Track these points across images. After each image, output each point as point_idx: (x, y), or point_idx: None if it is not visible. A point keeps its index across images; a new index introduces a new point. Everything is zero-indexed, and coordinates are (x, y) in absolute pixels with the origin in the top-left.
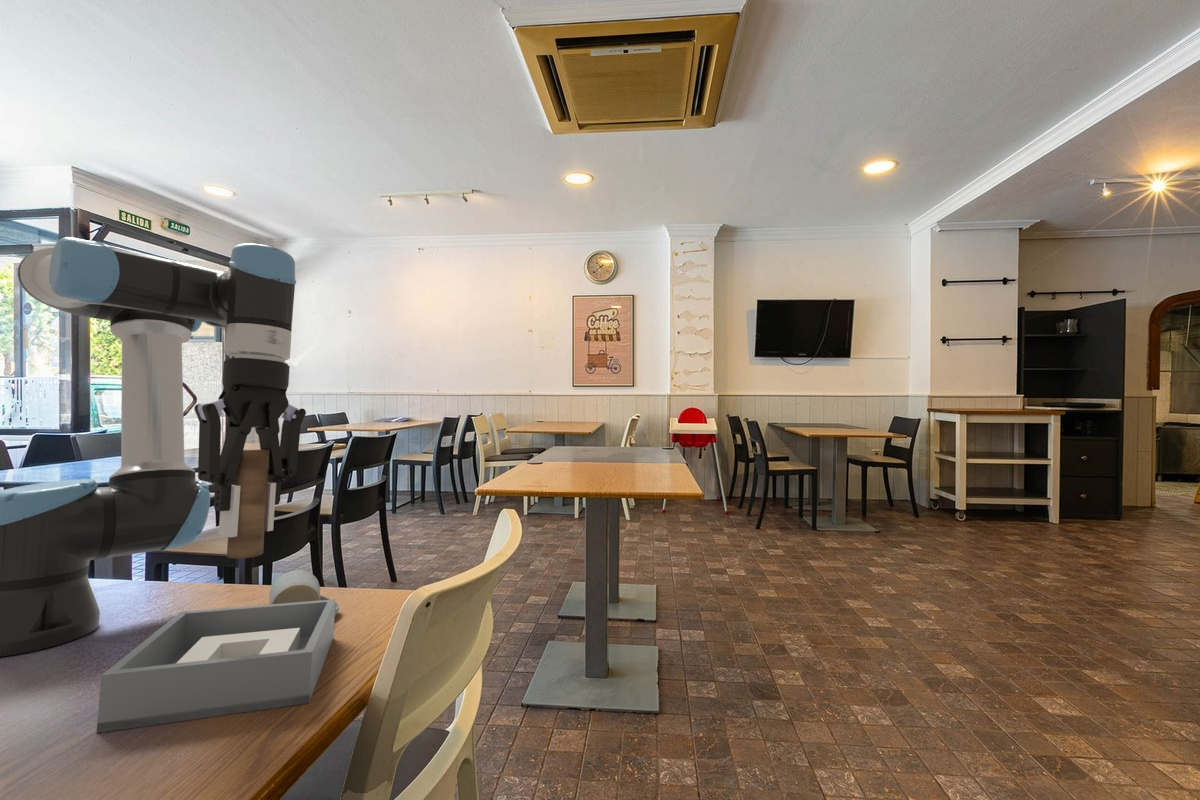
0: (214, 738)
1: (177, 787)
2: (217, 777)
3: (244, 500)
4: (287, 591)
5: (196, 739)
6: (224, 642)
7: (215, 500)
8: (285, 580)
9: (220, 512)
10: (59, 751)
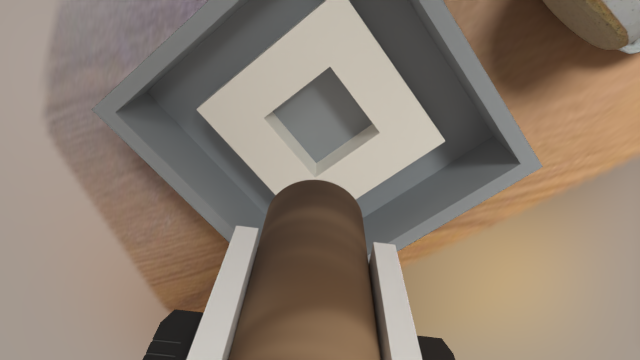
0: (202, 226)
1: (139, 265)
2: (166, 283)
3: None
4: (581, 3)
5: (191, 211)
6: (336, 66)
7: (149, 354)
8: None
9: (215, 285)
10: (92, 88)
